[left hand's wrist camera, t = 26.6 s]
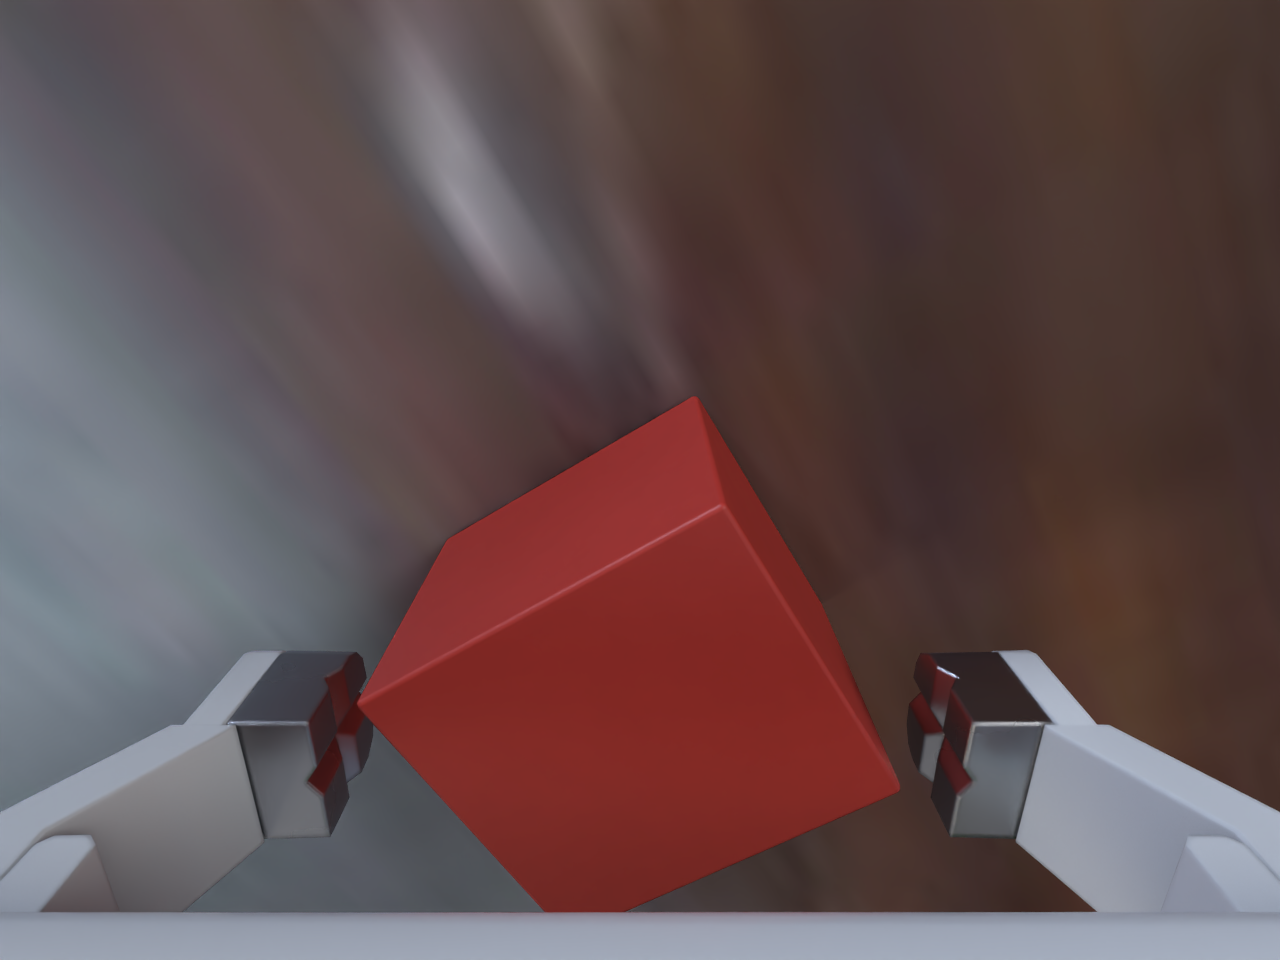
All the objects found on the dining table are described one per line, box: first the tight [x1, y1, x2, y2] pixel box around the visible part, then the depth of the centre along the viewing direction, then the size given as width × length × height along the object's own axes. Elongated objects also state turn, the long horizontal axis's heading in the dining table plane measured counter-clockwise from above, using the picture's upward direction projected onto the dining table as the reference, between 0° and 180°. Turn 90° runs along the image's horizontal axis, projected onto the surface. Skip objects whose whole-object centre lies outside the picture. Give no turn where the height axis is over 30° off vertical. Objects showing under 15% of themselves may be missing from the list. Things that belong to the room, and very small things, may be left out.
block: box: [357, 396, 900, 912], centre depth 11 cm, size 5×4×4 cm
